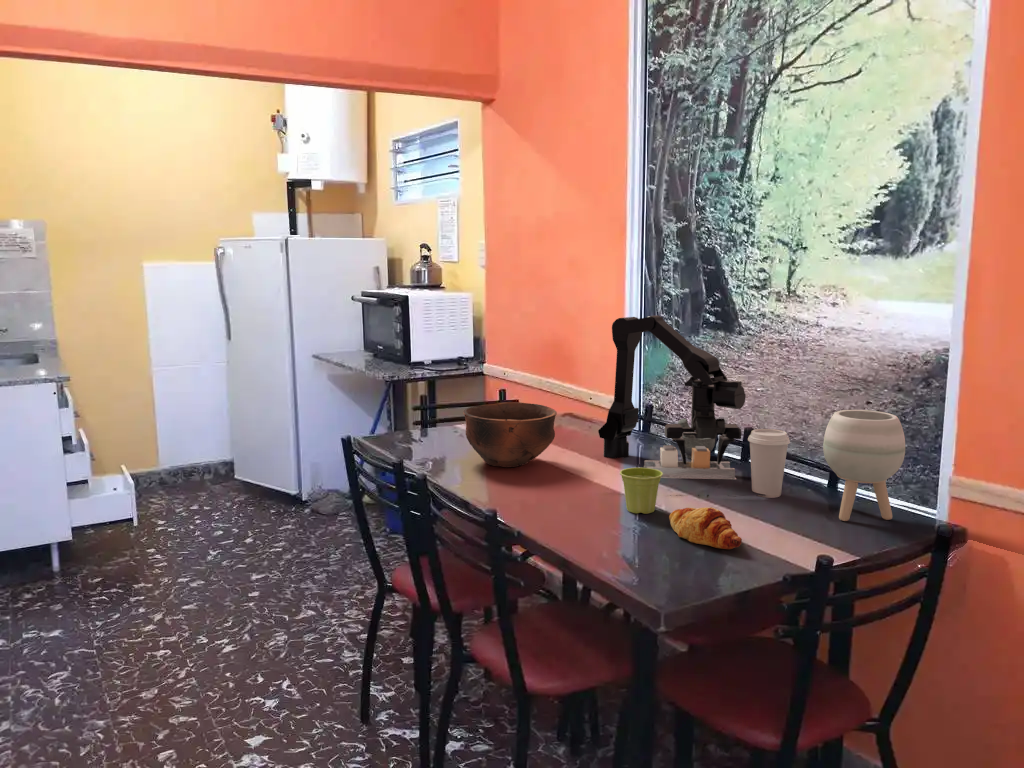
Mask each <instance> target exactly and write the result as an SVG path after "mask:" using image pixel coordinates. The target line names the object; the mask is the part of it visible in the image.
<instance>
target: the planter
mask: <svg viewBox="0 0 1024 768" xmlns="http://www.w3.org/2000/svg"><path fill="white" fill-rule="evenodd" d="M822 449H823V451H822V452H823V456H824V459H825V461H826V463H827V465H828V467H829V468H830V469H831V470H832V471H833V472H834V474H835V475H836V476H837V477H838V478H840V479H842V480H845V482H844V487H843V492H842V498H841V502H840V508H839V514H838V519H839V520H840V521H842V522H848V521H850V517H851V514H852V511H853V508H854V504H855V499H856V495H857V491H858V487H859V483H860V484H872V486H873V489H874V494H875V497H876V502H877V505H878V508H879V512H880V517H882V519H883V520H885V521H889V520H892V519H893V511H892V508H891V507H892V506H891V504H890V502H891V501H890V499H889V493H888V488H887V482H886V481H888V479H890V478H891V477H892V476H894V475H895V474H897V472H898V471H899V470H900V468H901V467H902V465H903V463H904V460H905V455H906V439H905V433H904V429H903V425H902V423H901V420H900V419H899V418H898V416H897V415H895V414H892V413H889V412H885V411H878V410H869V409H868V410H867V409H843V410H837V411H835V412H834V413H833V414H832V416H831V417H830V419H829V421H828V423H827V426H826V429H825V432H824V436H823V445H822Z"/></svg>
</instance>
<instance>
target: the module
mask: <svg viewBox="0 0 1024 768" xmlns="http://www.w3.org/2000/svg"><path fill="white" fill-rule="evenodd" d="M691 461H692V462H691V467H698V468H710V461H711V452H710V451H709V449H708V448H706V447H705V446H695V448H692V459H691Z"/></svg>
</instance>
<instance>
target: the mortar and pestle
mask: <svg viewBox="0 0 1024 768" xmlns="http://www.w3.org/2000/svg"><path fill="white" fill-rule="evenodd" d="M677 424H680V425H681V426H682V428H691V425H689V420H688V419H687V418H681V419H679V420H678V421H677ZM683 438H684V440H685V454H686V459H691V460H692V448H695V446H705V447H706V448H708V449H709V451H710V453H711V452H712V451H713V449H714V447H715V444H716V438H715V439H711V438H704V439H699V438H697V435H683Z"/></svg>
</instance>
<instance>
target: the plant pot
mask: <svg viewBox="0 0 1024 768" xmlns="http://www.w3.org/2000/svg"><path fill="white" fill-rule="evenodd" d="M619 475H620V476H621V480H622V482H623V489H624V497H625V506H626V510H627V511H628V512H629V513H633V514H640V513H642V514H647V515H648V514H651V513H654V512H655V509H656V503H657V498H658V497H657V496H658V490H659V485H660V482H661V479H662V478H661V477H662V475H663V473H662V472H661V471H659V470H656V469H651V468H644V467H629V468H623V469H621V470H620V471H619Z"/></svg>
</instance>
